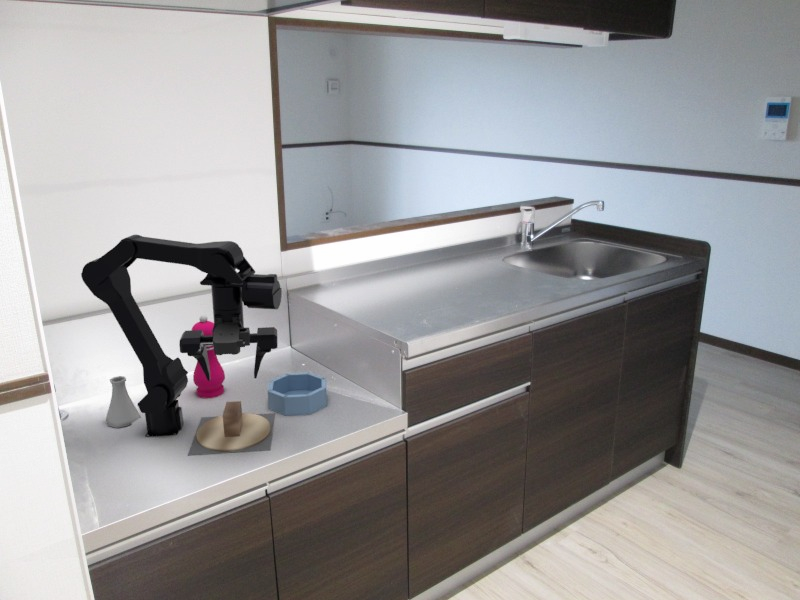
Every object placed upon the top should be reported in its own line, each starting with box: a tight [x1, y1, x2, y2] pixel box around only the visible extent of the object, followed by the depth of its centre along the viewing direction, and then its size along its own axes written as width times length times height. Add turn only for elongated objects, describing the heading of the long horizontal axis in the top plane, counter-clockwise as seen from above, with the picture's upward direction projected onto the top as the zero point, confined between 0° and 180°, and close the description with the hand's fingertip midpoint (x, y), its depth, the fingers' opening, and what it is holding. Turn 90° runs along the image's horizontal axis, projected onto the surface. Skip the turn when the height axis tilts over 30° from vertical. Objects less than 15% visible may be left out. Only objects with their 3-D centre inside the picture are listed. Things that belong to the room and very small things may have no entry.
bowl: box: [267, 372, 328, 417], centre depth 147 cm, size 13×13×5 cm
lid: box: [196, 400, 270, 452], centre depth 133 cm, size 15×15×6 cm
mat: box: [187, 412, 276, 457], centre depth 134 cm, size 16×16×1 cm
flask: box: [105, 375, 142, 429], centre depth 139 cm, size 7×7×10 cm
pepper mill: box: [191, 314, 226, 399], centre depth 150 cm, size 7×7×20 cm
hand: (232, 378), depth 130 cm, fingers open, 9 cm apart
